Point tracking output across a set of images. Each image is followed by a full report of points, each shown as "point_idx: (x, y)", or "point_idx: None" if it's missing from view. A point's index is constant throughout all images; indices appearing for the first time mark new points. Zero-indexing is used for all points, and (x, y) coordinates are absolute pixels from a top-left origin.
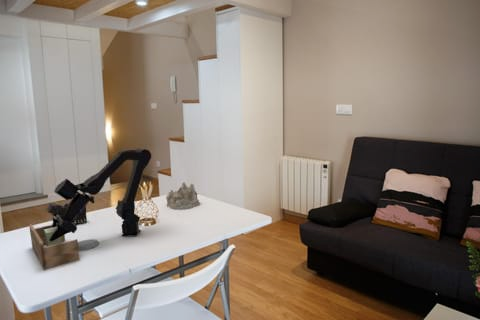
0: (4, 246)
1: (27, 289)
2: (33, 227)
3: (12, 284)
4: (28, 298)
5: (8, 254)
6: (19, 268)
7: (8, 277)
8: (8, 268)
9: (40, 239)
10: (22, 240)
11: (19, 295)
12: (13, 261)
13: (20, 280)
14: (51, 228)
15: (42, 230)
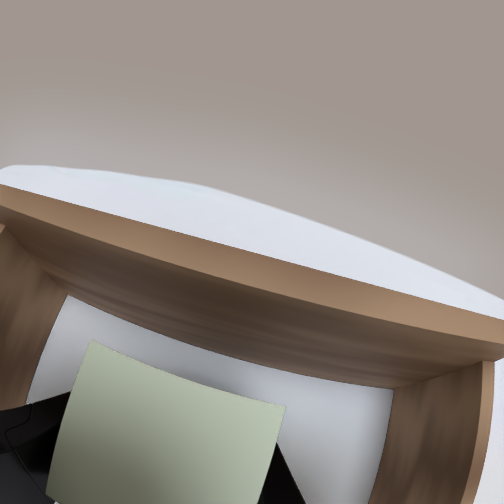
0: (481, 289)
1: (26, 188)
2: (459, 332)
3: (87, 172)
4: (3, 178)
5: (398, 267)
6: (181, 228)
7: (144, 179)
8: (229, 205)
9: (21, 208)
10: (500, 360)
11: (28, 169)
12: (294, 246)
13: (82, 193)
14: (220, 496)
15: (457, 437)
